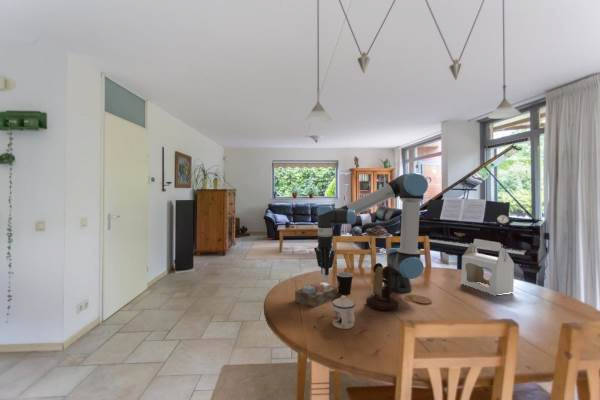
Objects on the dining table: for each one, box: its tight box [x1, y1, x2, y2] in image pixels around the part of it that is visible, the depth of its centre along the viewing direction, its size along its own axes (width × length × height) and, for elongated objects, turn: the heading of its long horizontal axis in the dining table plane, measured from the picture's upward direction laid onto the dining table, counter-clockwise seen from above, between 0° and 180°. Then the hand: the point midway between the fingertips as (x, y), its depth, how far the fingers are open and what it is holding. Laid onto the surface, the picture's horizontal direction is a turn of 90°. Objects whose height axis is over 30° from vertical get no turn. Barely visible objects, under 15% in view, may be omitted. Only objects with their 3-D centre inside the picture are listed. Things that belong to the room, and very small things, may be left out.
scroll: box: [365, 262, 399, 312], centre depth 137 cm, size 15×15×20 cm
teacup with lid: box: [331, 295, 356, 330], centre depth 116 cm, size 12×9×12 cm
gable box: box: [461, 238, 515, 295], centre depth 166 cm, size 22×13×28 cm, turn 19°
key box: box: [294, 282, 338, 309], centre depth 145 cm, size 19×12×5 cm, turn 138°
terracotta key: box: [310, 282, 323, 292], centre depth 145 cm, size 4×4×5 cm
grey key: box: [302, 284, 315, 295], centre depth 141 cm, size 4×4×5 cm
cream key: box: [319, 281, 331, 289], centre depth 150 cm, size 4×4×5 cm
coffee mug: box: [336, 272, 354, 296], centre depth 157 cm, size 12×9×10 cm
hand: (324, 280), depth 150 cm, fingers closed
